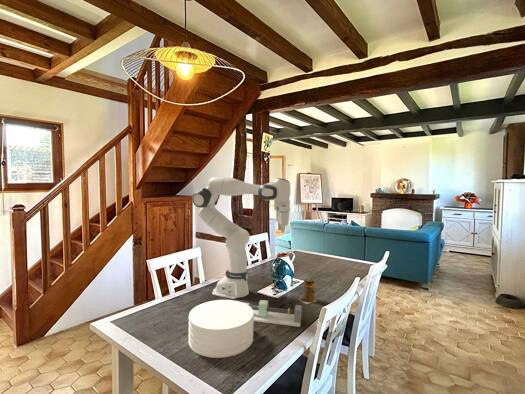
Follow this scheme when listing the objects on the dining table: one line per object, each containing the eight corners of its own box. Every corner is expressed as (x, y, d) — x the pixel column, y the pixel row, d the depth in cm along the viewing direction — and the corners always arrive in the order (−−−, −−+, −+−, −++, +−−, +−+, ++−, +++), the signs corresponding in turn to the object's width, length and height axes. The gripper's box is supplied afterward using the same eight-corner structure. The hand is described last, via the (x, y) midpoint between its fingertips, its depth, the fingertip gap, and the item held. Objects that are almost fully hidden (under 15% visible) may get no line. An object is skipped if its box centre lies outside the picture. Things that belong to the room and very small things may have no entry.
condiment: (317, 301, 165) (317, 281, 165) (306, 304, 161) (307, 283, 160) (308, 296, 171) (309, 277, 171) (298, 299, 167) (298, 279, 166)
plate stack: (217, 367, 105) (217, 337, 104) (175, 339, 123) (175, 313, 122) (266, 337, 126) (266, 312, 125) (223, 317, 144) (224, 295, 144)
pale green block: (258, 316, 142) (258, 303, 142) (260, 312, 147) (260, 299, 146) (266, 317, 141) (266, 304, 141) (267, 313, 146) (268, 300, 145)
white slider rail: (239, 319, 141) (239, 305, 141) (245, 310, 151) (245, 297, 151) (299, 326, 135) (300, 312, 135) (301, 317, 145) (301, 303, 145)
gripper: (273, 205, 170) (272, 228, 171) (279, 208, 150) (278, 234, 151) (284, 205, 171) (283, 228, 172) (291, 208, 151) (290, 234, 151)
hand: (281, 231), depth 161 cm, fingers open, 8 cm apart
